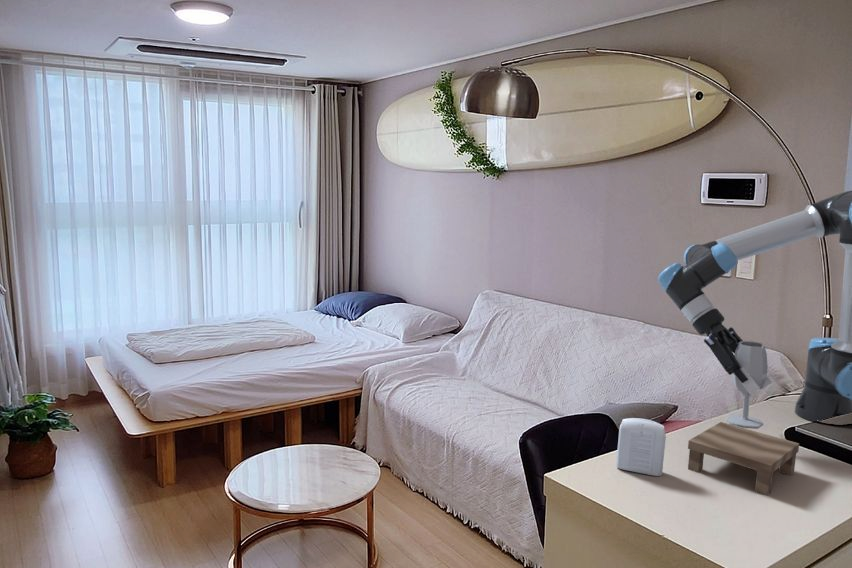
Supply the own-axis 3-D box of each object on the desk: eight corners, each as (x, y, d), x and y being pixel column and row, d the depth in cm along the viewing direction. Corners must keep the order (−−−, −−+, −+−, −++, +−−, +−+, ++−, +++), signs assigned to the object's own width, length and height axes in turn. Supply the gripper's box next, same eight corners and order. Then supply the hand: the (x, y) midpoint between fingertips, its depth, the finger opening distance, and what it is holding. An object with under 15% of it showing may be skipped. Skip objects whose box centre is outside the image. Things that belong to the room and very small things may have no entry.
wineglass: (724, 425, 170) (731, 345, 166) (727, 415, 177) (733, 338, 174) (762, 432, 166) (770, 349, 162) (763, 421, 173) (771, 342, 170)
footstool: (718, 448, 168) (720, 421, 167) (795, 471, 155) (799, 443, 154) (686, 469, 156) (688, 440, 155) (767, 496, 143) (771, 465, 142)
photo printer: (663, 471, 155) (667, 420, 153) (661, 478, 151) (666, 426, 149) (617, 462, 158) (620, 413, 156) (615, 469, 155) (618, 418, 153)
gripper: (709, 318, 186) (765, 387, 177) (675, 329, 172) (733, 405, 163) (730, 302, 181) (788, 372, 172) (696, 312, 167) (758, 389, 158)
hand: (762, 388), depth 167 cm, fingers closed on wineglass, 8 cm apart
